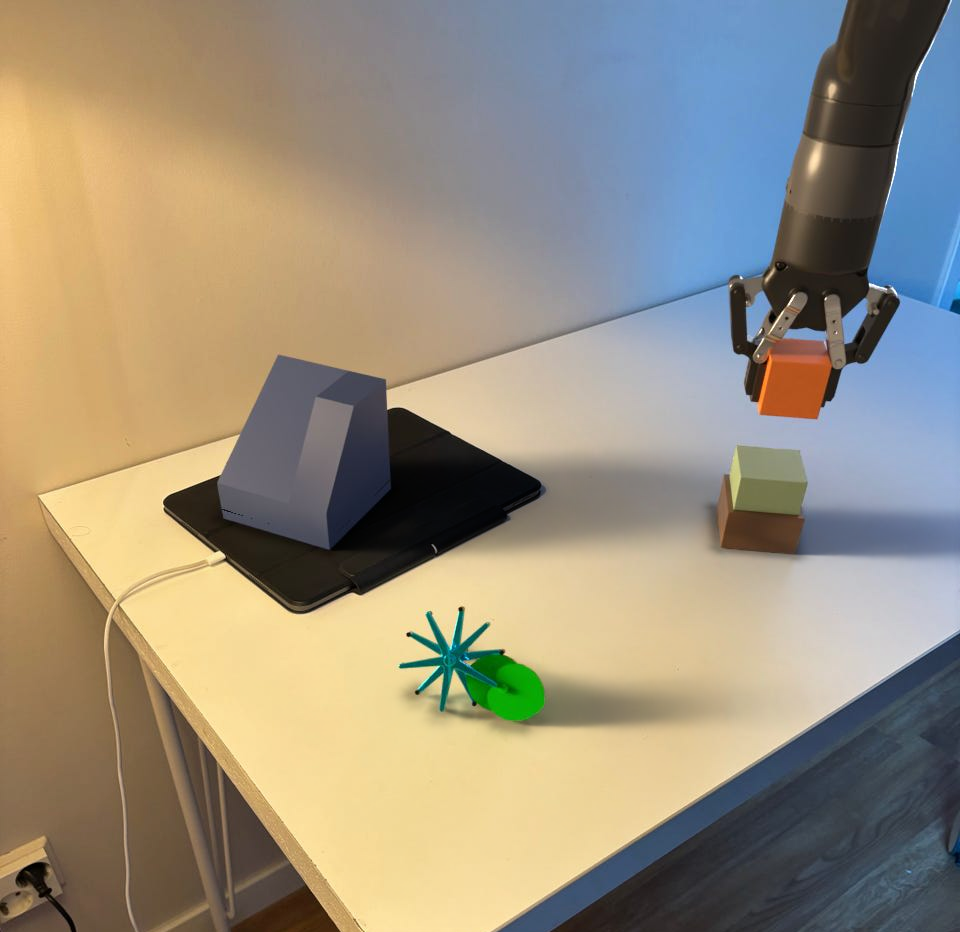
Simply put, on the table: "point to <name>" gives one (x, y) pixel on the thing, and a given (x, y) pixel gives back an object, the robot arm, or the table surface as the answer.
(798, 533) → the walnut block
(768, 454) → the green block
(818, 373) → the toy cube
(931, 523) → the table surface
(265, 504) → the phone stand
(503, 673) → the stick construction toy
